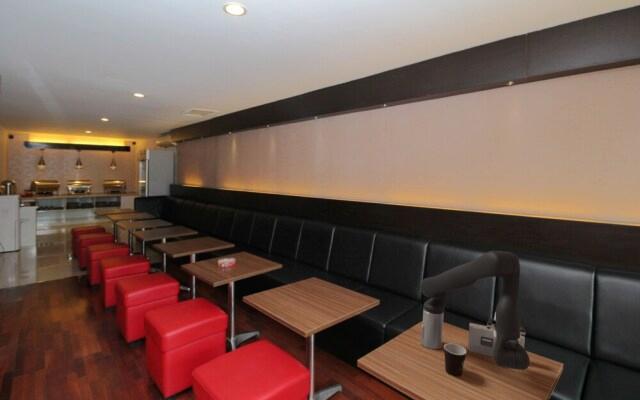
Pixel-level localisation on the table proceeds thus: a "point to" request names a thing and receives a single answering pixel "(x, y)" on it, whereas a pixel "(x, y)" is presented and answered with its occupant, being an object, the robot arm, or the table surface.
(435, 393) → the table surface
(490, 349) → the psu panel
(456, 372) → the coffee mug
